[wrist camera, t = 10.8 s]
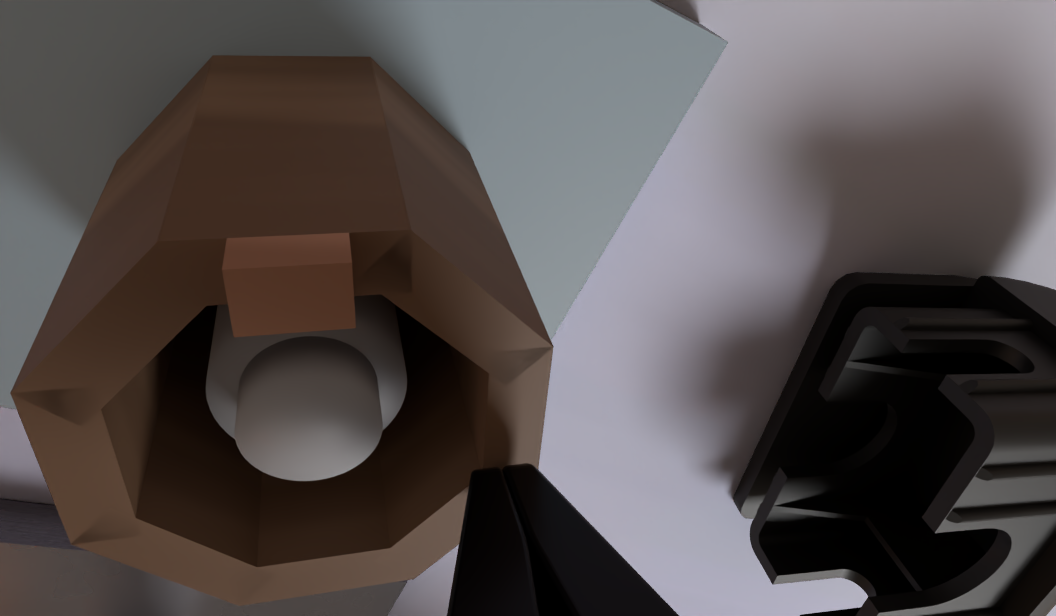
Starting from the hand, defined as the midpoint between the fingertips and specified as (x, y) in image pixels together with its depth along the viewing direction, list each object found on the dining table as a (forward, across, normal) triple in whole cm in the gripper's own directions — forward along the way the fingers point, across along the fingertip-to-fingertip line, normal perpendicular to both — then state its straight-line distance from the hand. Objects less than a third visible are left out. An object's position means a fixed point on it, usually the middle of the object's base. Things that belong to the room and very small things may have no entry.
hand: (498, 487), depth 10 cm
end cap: (+8, -14, +7) cm, 17 cm away
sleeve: (+6, +2, -1) cm, 7 cm away
